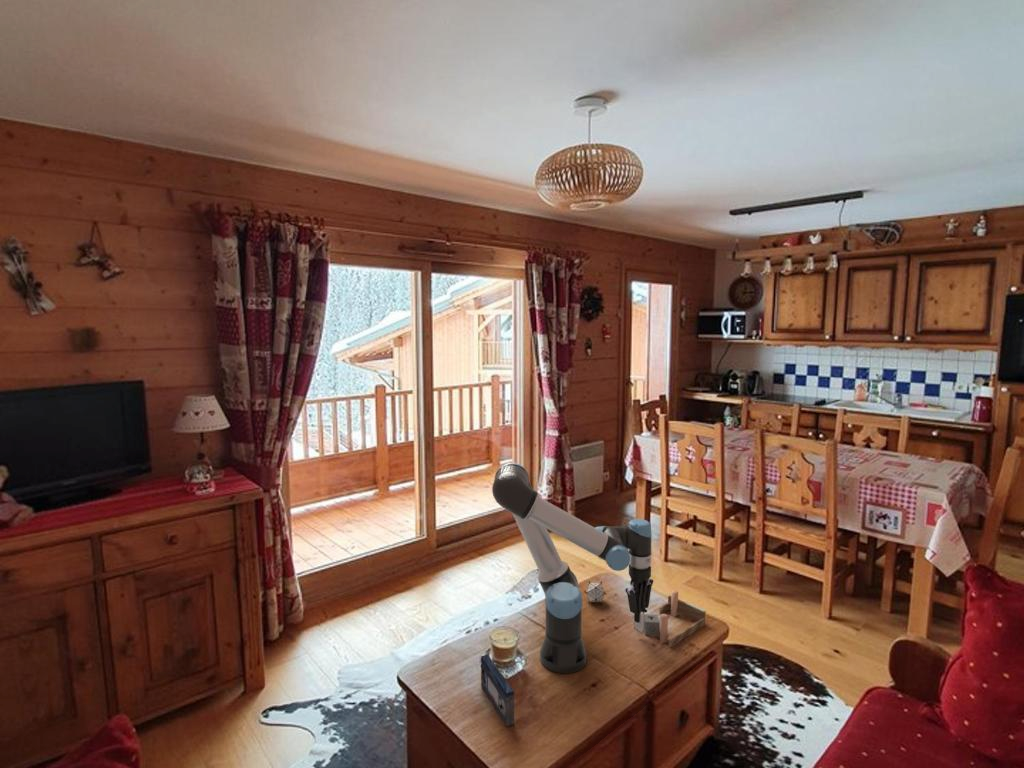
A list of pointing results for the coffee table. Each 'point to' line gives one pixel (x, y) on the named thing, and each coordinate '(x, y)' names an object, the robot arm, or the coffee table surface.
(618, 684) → the coffee table surface
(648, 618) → the dice cube
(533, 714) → the coffee table surface
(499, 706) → the vhs cassette tape
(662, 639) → the pin near
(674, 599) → the pin far
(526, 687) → the coffee table surface
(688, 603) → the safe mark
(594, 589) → the game die
